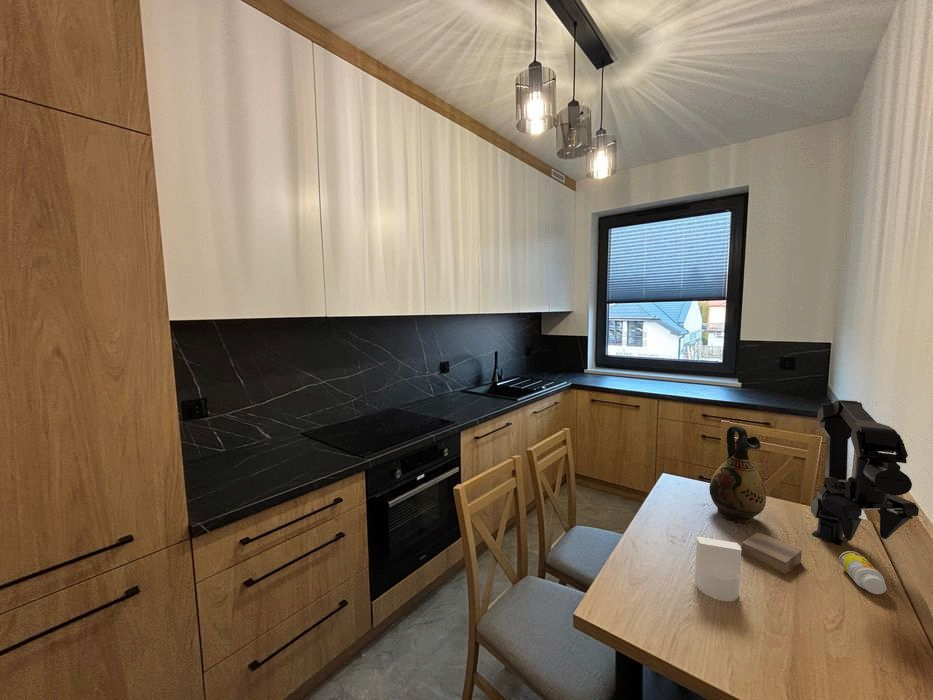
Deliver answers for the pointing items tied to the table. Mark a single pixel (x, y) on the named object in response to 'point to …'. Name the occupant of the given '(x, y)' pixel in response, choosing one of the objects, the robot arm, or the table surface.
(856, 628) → the table surface
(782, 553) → the walnut block
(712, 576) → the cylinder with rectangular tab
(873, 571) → the supplement bottle
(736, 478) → the ceramic jug
